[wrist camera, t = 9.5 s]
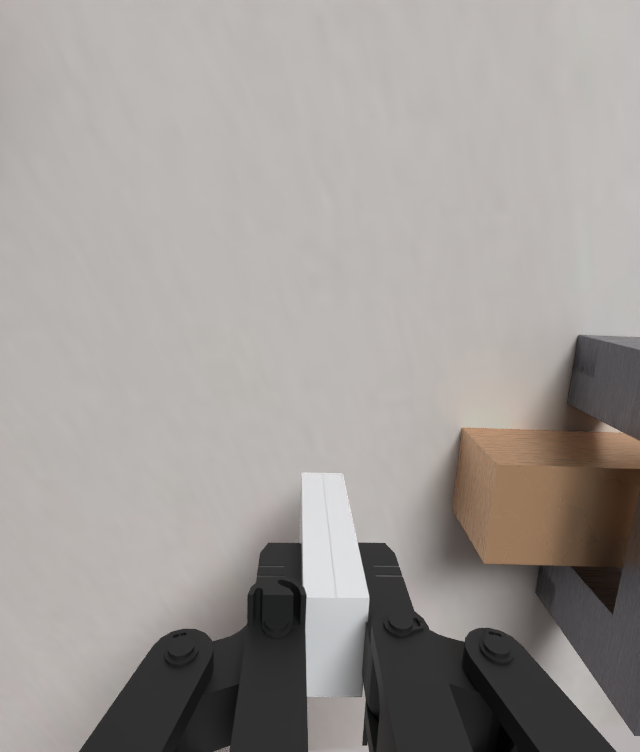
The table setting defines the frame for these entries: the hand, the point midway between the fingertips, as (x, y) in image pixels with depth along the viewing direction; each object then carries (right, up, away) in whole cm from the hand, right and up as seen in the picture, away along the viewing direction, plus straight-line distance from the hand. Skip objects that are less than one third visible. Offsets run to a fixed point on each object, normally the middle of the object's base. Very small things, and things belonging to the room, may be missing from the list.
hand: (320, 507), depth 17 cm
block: (+14, 0, +4) cm, 15 cm away
